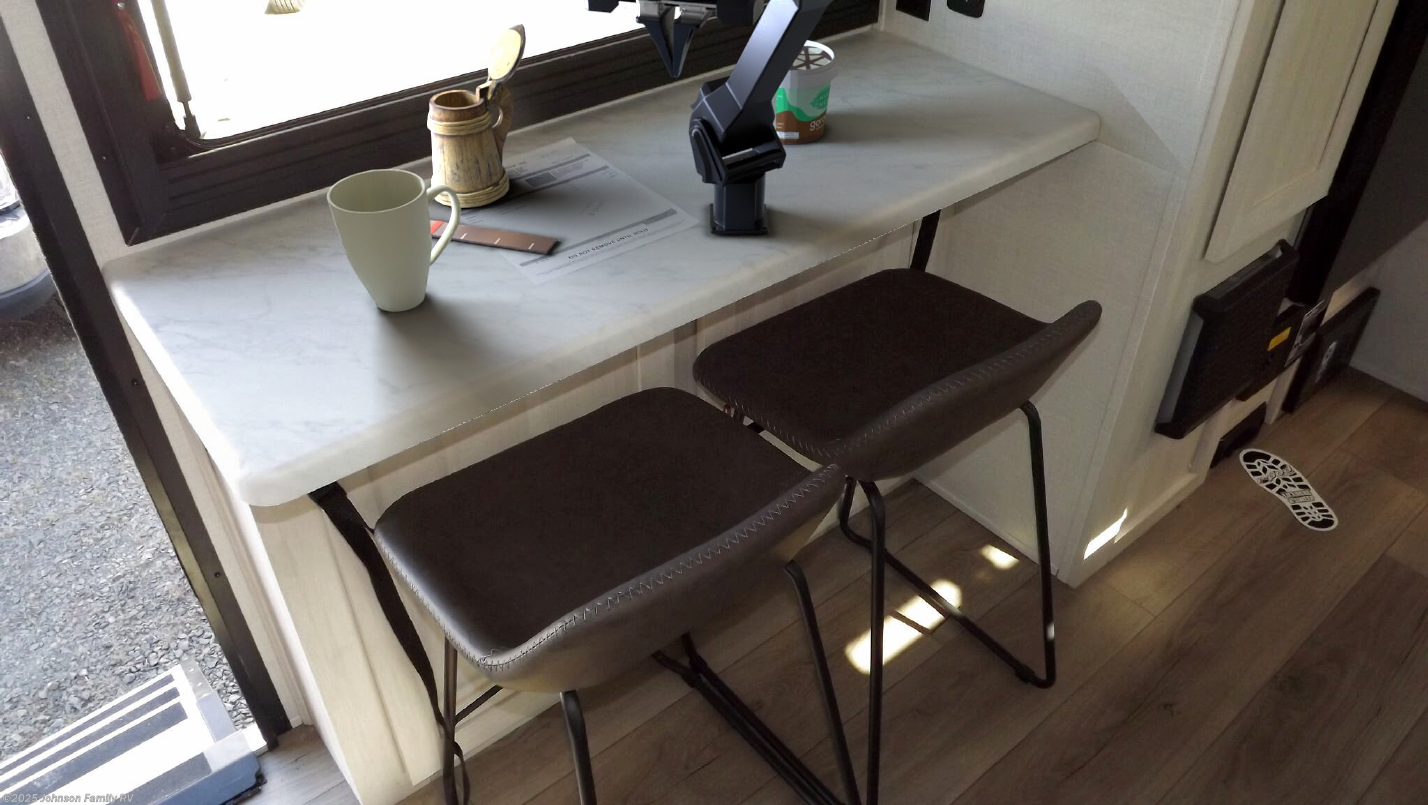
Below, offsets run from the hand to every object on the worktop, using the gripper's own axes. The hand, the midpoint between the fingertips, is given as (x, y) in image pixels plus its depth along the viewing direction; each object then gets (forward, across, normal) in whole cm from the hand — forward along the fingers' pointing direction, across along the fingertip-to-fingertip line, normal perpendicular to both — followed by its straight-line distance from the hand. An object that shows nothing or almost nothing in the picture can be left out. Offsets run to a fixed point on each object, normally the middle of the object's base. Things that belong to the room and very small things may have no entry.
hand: (675, 75), depth 116 cm
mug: (+13, +19, +31) cm, 39 cm away
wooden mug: (+13, +21, +7) cm, 26 cm away
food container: (+13, -13, -18) cm, 26 cm away
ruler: (+13, +19, +19) cm, 29 cm away
